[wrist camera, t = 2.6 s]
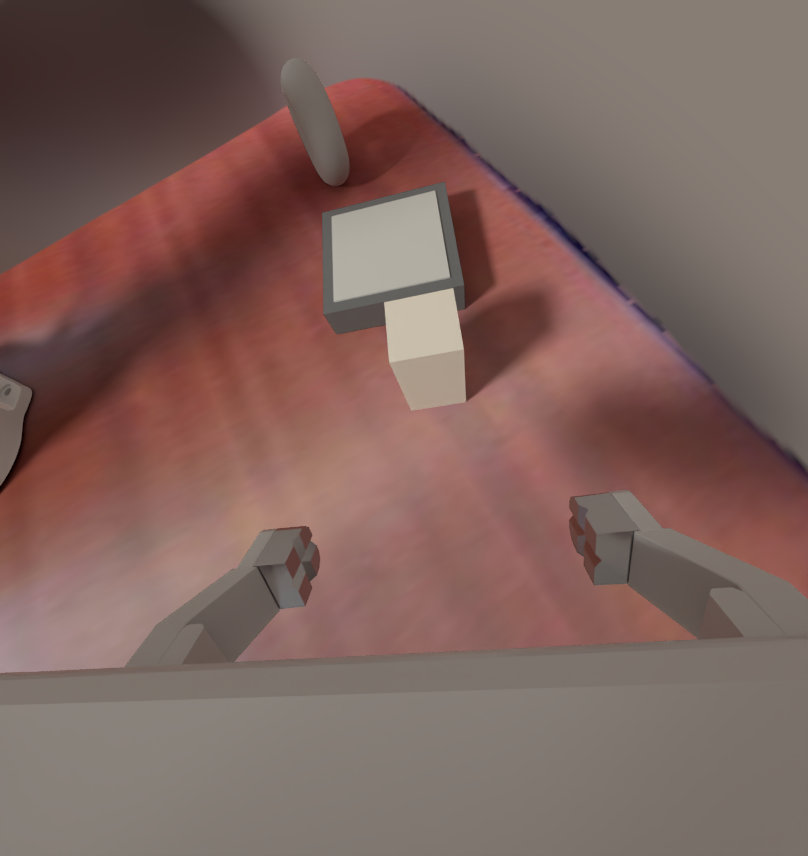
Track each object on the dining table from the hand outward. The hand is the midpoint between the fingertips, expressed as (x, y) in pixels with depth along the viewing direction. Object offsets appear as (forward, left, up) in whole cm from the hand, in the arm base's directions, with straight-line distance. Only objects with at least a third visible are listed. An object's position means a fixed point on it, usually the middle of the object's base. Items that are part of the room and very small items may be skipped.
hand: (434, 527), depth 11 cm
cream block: (-8, +10, -15) cm, 19 cm away
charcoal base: (-18, +18, -15) cm, 29 cm away
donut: (-32, +26, -15) cm, 43 cm away
